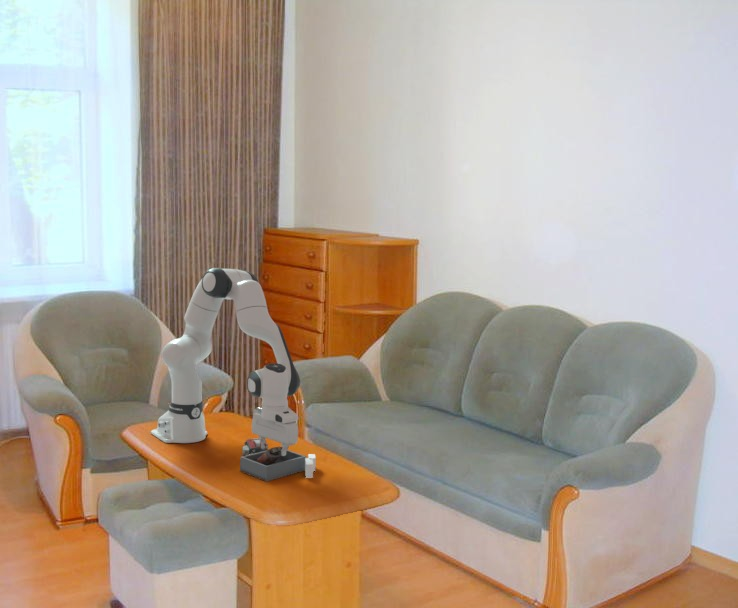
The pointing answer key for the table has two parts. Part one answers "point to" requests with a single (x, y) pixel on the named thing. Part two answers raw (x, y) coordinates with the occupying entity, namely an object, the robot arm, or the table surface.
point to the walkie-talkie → (252, 447)
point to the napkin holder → (310, 465)
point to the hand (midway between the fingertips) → (273, 452)
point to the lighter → (270, 456)
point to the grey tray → (272, 465)
